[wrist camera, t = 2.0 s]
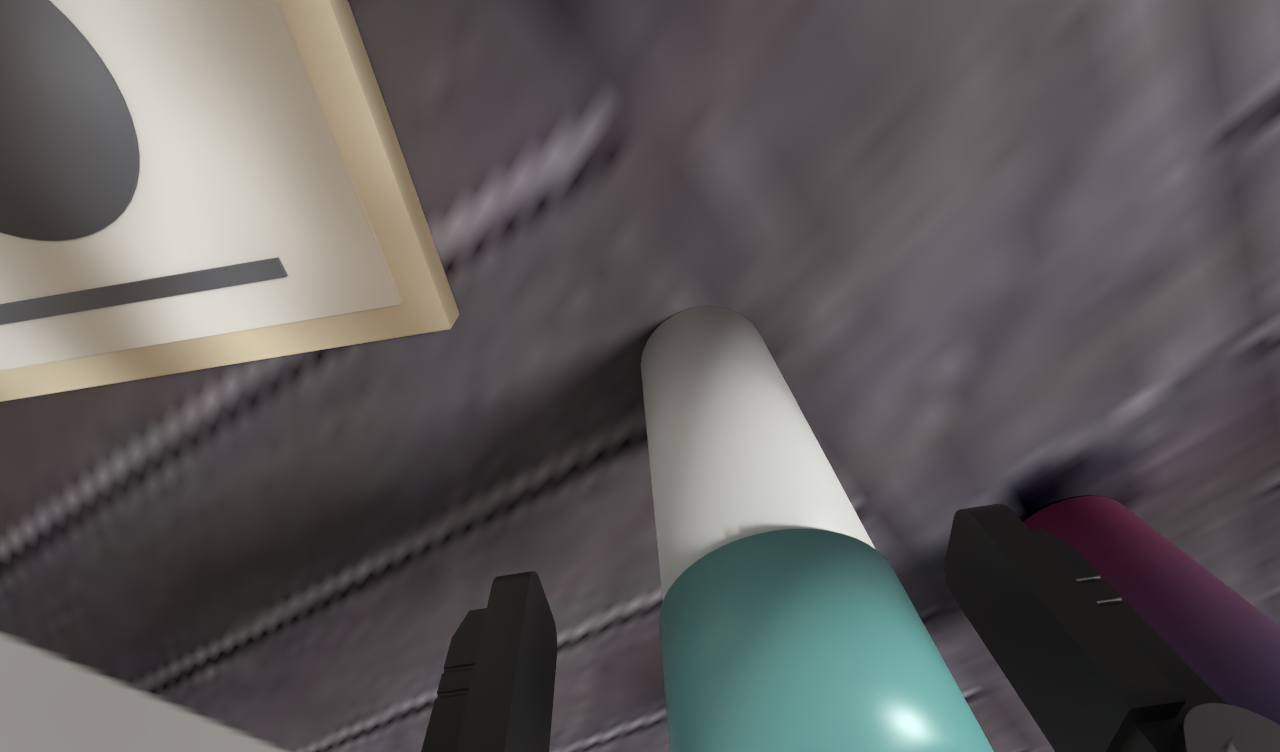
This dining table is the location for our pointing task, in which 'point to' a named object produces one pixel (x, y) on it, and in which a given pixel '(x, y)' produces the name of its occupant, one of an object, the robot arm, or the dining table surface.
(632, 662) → the dining table surface
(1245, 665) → the cup
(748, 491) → the marker
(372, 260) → the paper board
